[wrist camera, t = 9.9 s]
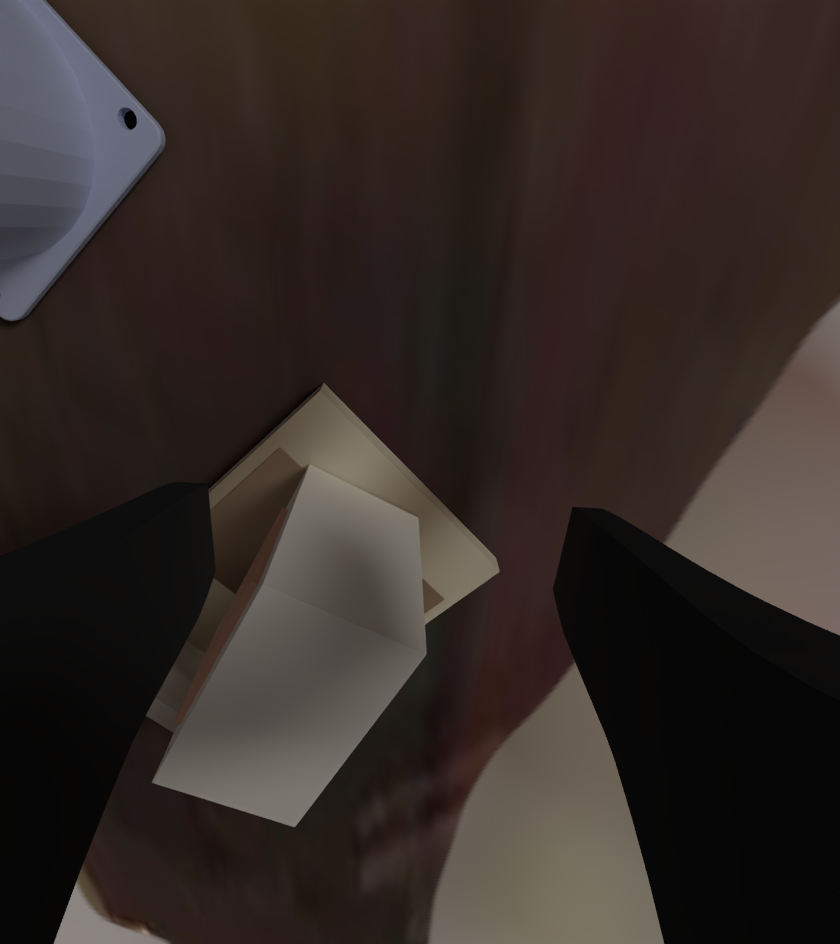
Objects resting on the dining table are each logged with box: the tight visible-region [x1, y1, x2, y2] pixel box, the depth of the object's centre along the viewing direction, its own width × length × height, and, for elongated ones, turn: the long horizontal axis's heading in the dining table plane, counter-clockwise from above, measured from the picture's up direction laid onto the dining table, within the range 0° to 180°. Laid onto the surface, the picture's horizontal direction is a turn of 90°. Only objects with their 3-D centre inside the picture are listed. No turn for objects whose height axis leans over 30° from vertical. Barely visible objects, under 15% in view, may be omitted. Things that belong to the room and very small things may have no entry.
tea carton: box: [152, 465, 426, 827], centre depth 17 cm, size 5×8×7 cm, turn 150°
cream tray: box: [146, 383, 500, 733], centre depth 20 cm, size 10×13×4 cm
